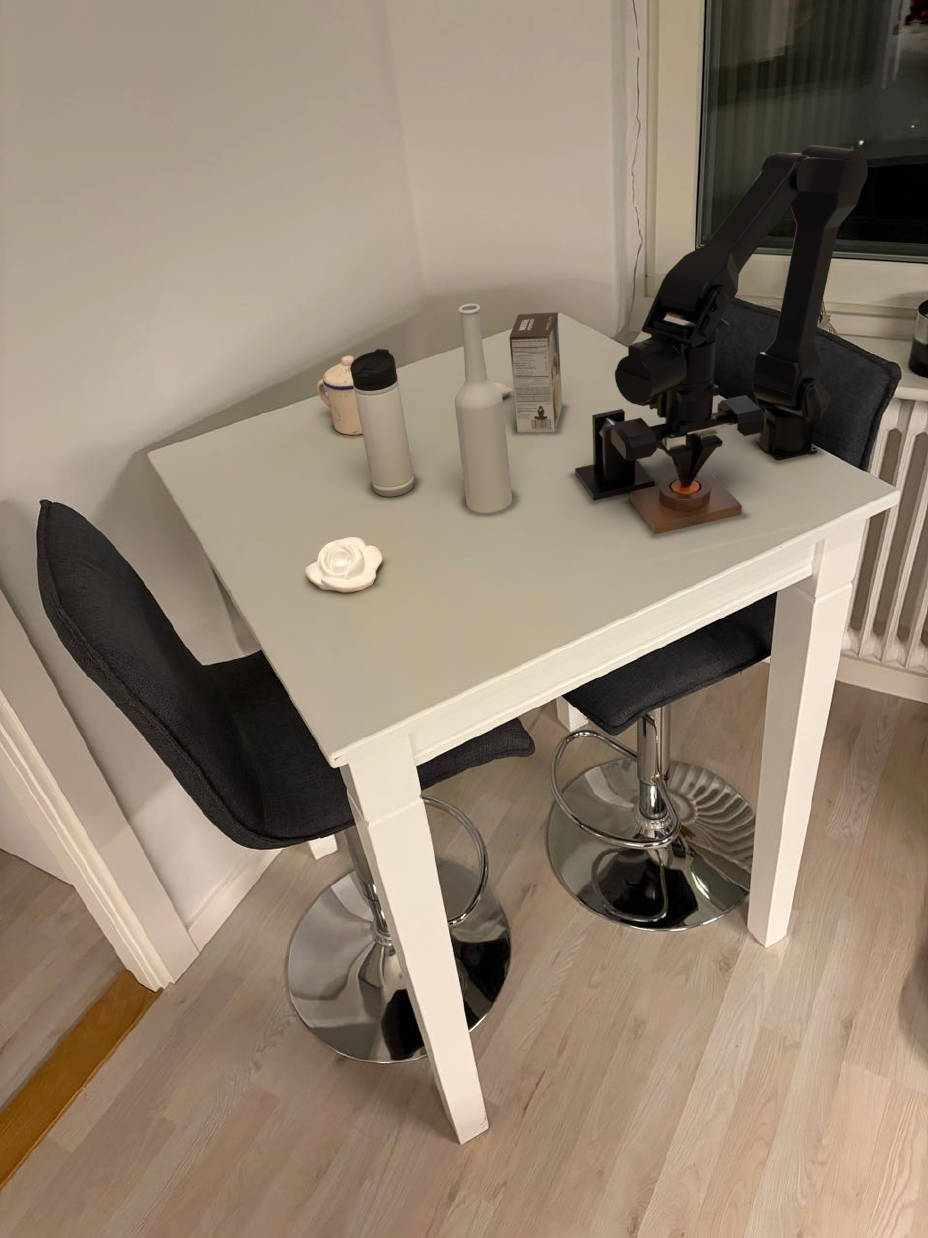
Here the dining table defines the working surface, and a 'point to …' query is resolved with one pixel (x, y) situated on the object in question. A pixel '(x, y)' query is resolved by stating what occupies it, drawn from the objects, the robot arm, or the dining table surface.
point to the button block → (684, 504)
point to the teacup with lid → (341, 397)
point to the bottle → (481, 425)
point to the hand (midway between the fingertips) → (685, 485)
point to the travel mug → (383, 422)
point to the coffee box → (536, 372)
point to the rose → (345, 565)
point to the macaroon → (503, 389)
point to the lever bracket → (611, 464)
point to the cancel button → (680, 490)
